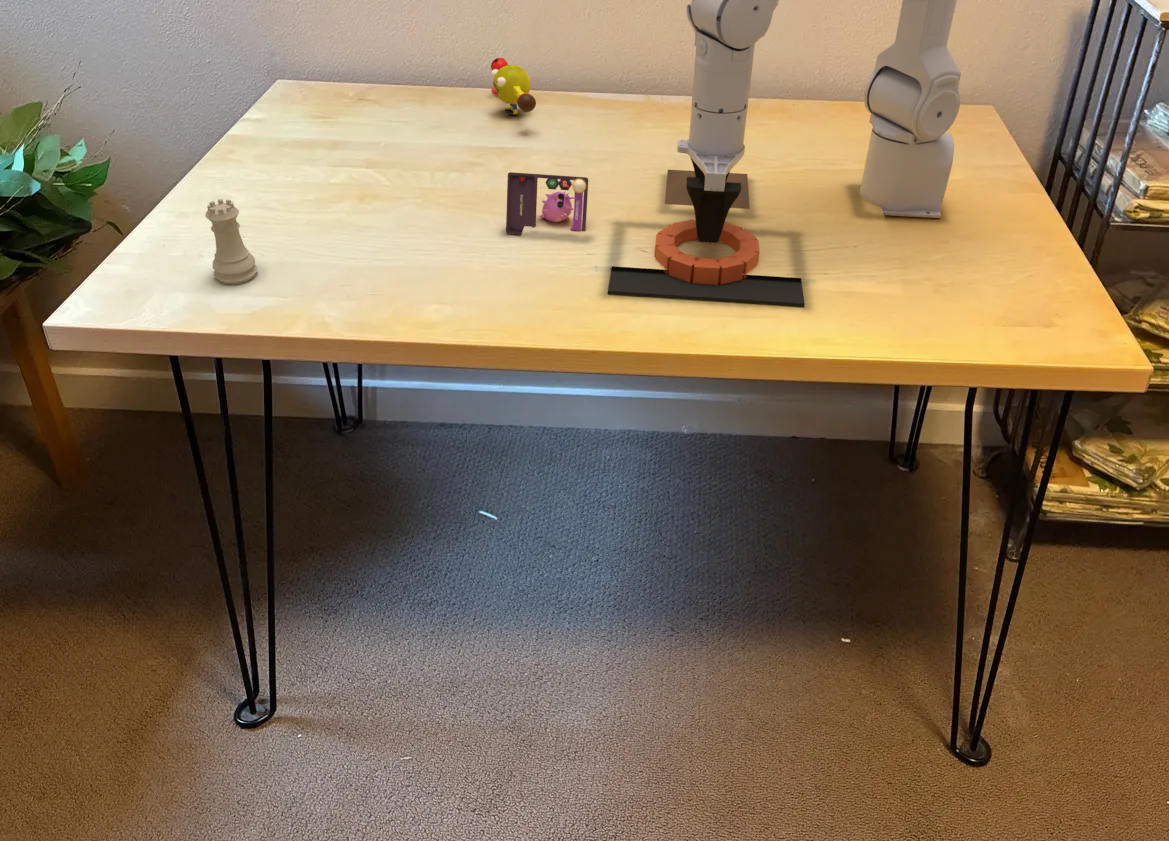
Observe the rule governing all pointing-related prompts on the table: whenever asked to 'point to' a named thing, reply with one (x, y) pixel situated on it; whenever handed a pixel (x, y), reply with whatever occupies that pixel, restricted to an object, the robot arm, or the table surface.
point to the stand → (678, 178)
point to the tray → (706, 287)
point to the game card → (554, 208)
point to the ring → (706, 267)
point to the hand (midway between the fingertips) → (708, 224)
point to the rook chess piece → (229, 245)
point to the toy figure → (512, 86)
